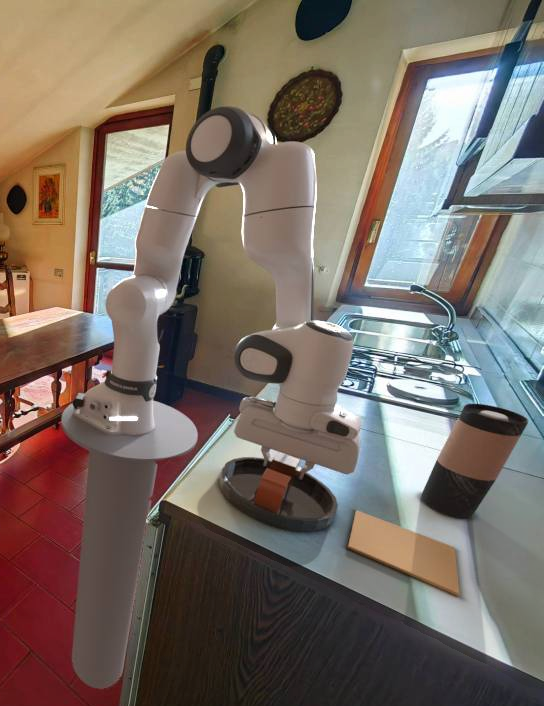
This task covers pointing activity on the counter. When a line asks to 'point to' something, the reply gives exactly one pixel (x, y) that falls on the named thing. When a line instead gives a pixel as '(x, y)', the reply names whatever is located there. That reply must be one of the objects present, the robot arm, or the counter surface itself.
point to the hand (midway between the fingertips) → (282, 471)
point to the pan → (298, 505)
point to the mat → (405, 551)
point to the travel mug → (472, 459)
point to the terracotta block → (272, 490)
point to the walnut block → (285, 465)
